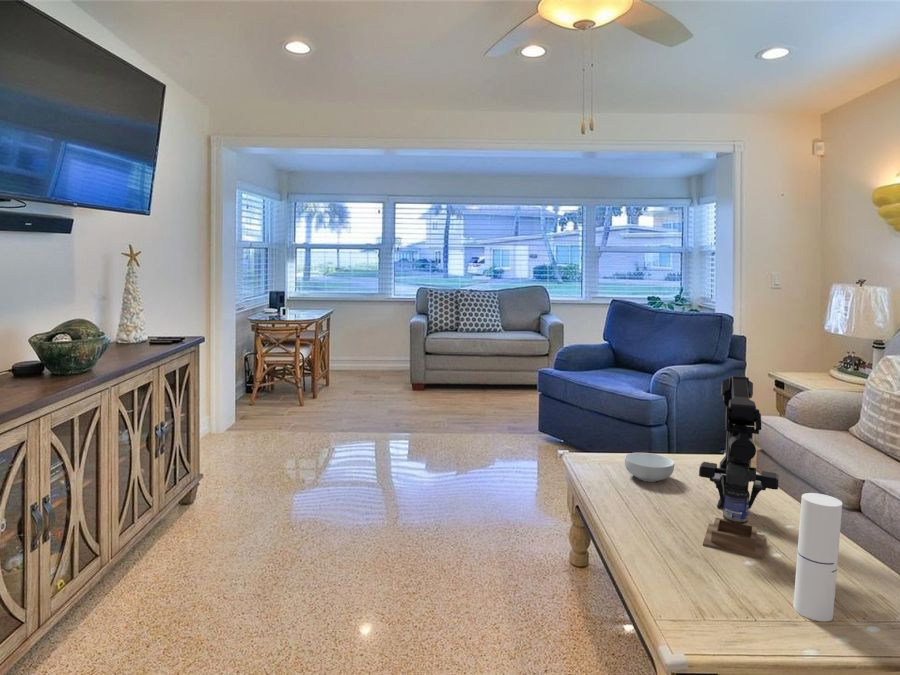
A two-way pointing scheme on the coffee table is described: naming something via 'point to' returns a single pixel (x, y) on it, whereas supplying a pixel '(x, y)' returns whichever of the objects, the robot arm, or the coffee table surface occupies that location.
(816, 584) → the cylindrical container
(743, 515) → the pill bottle
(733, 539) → the walnut holder
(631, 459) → the cereal bowl
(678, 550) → the coffee table surface
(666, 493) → the coffee table surface
